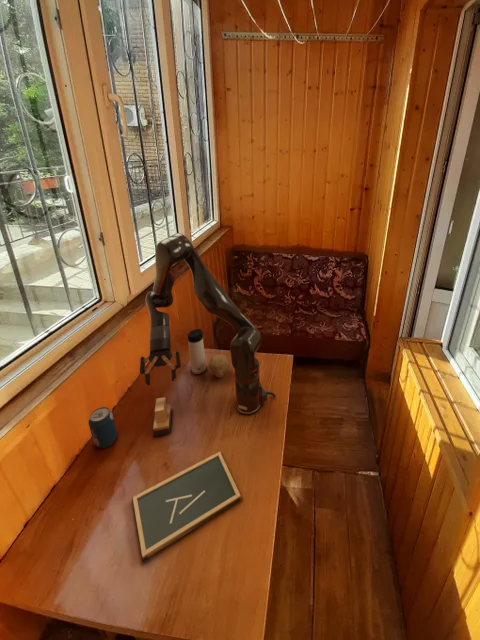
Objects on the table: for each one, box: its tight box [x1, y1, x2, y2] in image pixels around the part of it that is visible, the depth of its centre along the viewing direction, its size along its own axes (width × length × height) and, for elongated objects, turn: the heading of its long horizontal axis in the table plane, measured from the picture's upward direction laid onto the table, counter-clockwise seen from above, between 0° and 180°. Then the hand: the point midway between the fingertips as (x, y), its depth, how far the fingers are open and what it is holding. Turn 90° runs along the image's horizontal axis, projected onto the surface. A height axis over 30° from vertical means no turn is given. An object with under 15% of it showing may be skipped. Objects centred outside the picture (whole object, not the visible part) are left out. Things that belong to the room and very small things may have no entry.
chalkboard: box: [132, 451, 242, 562], centre depth 88 cm, size 26×16×2 cm, turn 123°
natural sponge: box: [208, 354, 231, 378], centre depth 136 cm, size 9×9×10 cm
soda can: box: [88, 406, 118, 449], centre depth 104 cm, size 7×7×12 cm
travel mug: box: [187, 328, 207, 375], centre depth 137 cm, size 6×7×20 cm
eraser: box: [152, 396, 172, 437], centre depth 112 cm, size 10×5×9 cm, turn 16°
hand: (161, 382), depth 115 cm, fingers open, 8 cm apart
